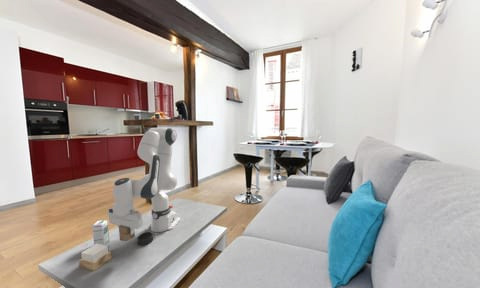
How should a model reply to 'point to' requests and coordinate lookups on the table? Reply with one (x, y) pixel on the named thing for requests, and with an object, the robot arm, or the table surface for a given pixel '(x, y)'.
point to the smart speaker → (145, 238)
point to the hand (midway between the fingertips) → (127, 232)
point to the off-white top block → (94, 253)
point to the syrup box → (100, 232)
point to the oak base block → (96, 264)
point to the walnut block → (125, 233)
